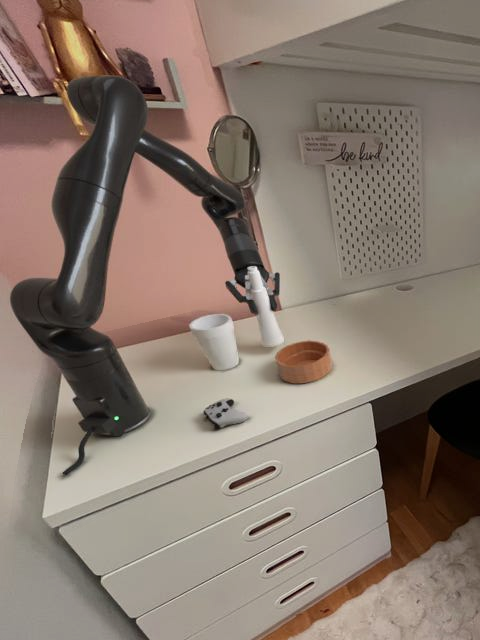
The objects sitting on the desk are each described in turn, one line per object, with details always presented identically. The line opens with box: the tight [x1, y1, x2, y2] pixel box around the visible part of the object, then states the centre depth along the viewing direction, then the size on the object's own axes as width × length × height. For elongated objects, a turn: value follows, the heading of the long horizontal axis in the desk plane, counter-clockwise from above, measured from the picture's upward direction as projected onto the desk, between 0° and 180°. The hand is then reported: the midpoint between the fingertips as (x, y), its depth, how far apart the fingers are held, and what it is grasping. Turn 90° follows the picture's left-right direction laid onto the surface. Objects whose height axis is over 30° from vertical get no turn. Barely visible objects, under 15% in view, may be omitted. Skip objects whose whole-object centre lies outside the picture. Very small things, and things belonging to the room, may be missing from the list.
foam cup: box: [188, 313, 240, 371], centre depth 106 cm, size 10×9×13 cm
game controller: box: [202, 397, 249, 430], centre depth 90 cm, size 10×5×6 cm
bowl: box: [274, 340, 333, 384], centre depth 107 cm, size 13×13×6 cm
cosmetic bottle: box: [247, 266, 285, 348], centre depth 108 cm, size 6×6×22 cm
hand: (265, 311), depth 107 cm, fingers closed on cosmetic bottle, 4 cm apart
